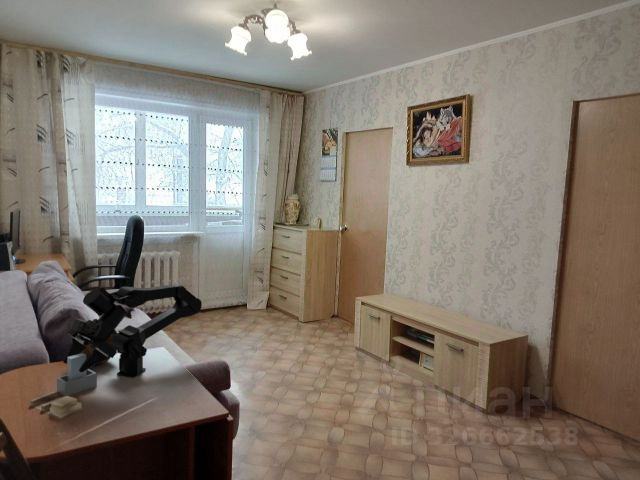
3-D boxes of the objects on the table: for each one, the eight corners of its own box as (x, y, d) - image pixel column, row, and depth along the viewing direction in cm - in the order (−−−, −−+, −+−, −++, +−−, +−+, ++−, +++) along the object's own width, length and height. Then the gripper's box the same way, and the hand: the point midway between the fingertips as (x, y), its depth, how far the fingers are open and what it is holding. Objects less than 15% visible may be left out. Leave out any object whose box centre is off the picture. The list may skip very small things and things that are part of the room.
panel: (83, 384, 139) (82, 353, 138) (86, 386, 138) (86, 354, 137) (67, 389, 136) (67, 357, 134) (71, 391, 134) (70, 358, 133)
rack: (53, 396, 132) (53, 385, 132) (84, 410, 126) (84, 398, 125) (28, 406, 126) (27, 394, 126) (59, 421, 120) (59, 409, 119)
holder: (88, 382, 142) (88, 368, 141) (96, 387, 139) (96, 373, 139) (56, 392, 135) (56, 377, 134) (65, 398, 132) (65, 382, 131)
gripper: (73, 301, 142) (36, 345, 135) (106, 314, 132) (67, 362, 124) (99, 321, 150) (64, 363, 142) (131, 334, 139) (96, 381, 131)
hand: (72, 367), depth 135 cm, fingers open, 9 cm apart
